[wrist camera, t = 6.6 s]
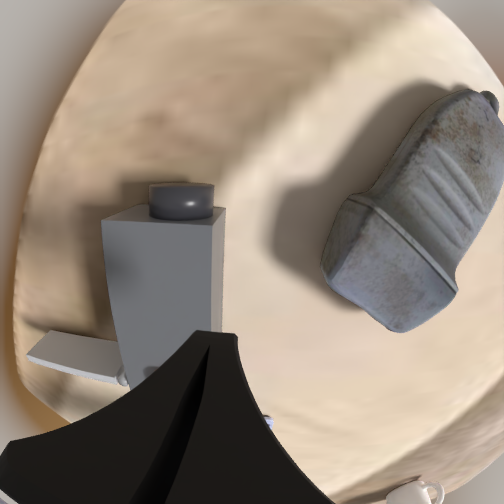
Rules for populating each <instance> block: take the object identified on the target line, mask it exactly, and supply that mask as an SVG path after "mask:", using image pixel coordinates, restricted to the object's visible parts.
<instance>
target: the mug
mask: <svg viewBox="0 0 504 504" xmlns="http://www.w3.org/2000/svg"><path fill="white" fill-rule="evenodd" d="M429 487H434V488H435V489H436V490H437V493H438V497H437V500H436V502H435V503H434V504H442V502H443V499H444V489H443V486H442V485H441V484H440V483H439V482H437V481H429V482H426V483H424V482H423V481H421V480H416V481H412V482H409V483H407V484H404V485H402V486H400V487H398V488H396V489H394V490H393V491H391V492H390V493H389V494H388V495H387V496H386V501H387V504H431V501H430V498H429V495H428V492H427V488H429Z"/></svg>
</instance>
